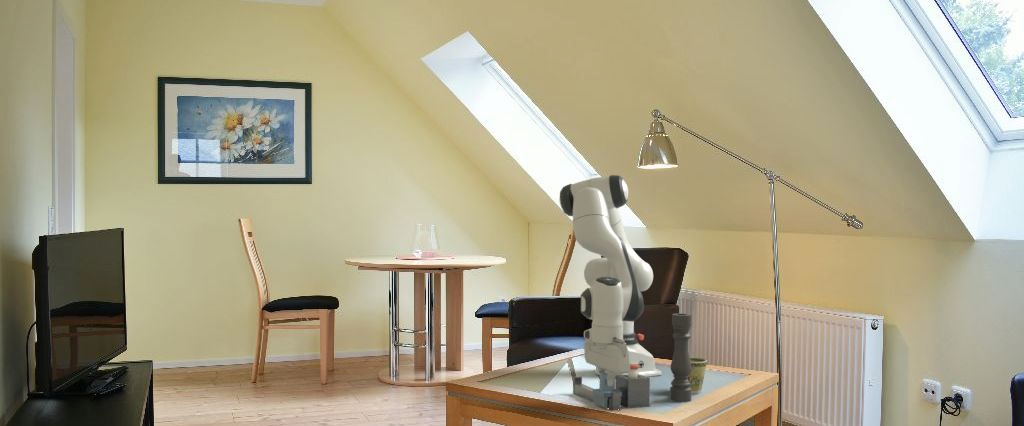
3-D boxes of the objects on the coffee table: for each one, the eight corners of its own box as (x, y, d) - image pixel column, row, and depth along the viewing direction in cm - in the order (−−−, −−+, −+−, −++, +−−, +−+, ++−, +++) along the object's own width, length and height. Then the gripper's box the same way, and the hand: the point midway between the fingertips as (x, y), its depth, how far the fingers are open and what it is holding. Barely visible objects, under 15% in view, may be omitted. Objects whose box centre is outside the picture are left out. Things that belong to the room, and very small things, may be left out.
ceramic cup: (699, 397, 265) (700, 363, 265) (668, 392, 270) (668, 360, 270) (714, 389, 276) (714, 357, 276) (683, 386, 281) (684, 354, 281)
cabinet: (636, 401, 258) (636, 373, 258) (649, 406, 251) (649, 378, 251) (615, 402, 255) (615, 375, 255) (627, 408, 248) (628, 379, 248)
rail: (580, 393, 268) (580, 376, 268) (620, 410, 246) (620, 392, 246) (573, 393, 267) (573, 376, 267) (612, 410, 245) (613, 392, 245)
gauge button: (634, 383, 255) (634, 363, 255) (640, 386, 252) (641, 365, 252) (624, 384, 254) (624, 364, 254) (630, 386, 251) (630, 366, 251)
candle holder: (667, 397, 263) (668, 313, 263) (687, 397, 264) (689, 313, 264) (673, 402, 257) (674, 315, 257) (693, 401, 258) (695, 315, 258)
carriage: (610, 401, 254) (611, 370, 254) (621, 406, 249) (621, 374, 249) (592, 403, 252) (592, 371, 252) (602, 407, 246) (603, 375, 246)
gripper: (636, 340, 242) (635, 390, 242) (599, 330, 261) (599, 377, 261) (615, 341, 239) (615, 392, 239) (580, 331, 258) (580, 378, 258)
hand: (606, 384), depth 250 cm, fingers closed on carriage, 2 cm apart
